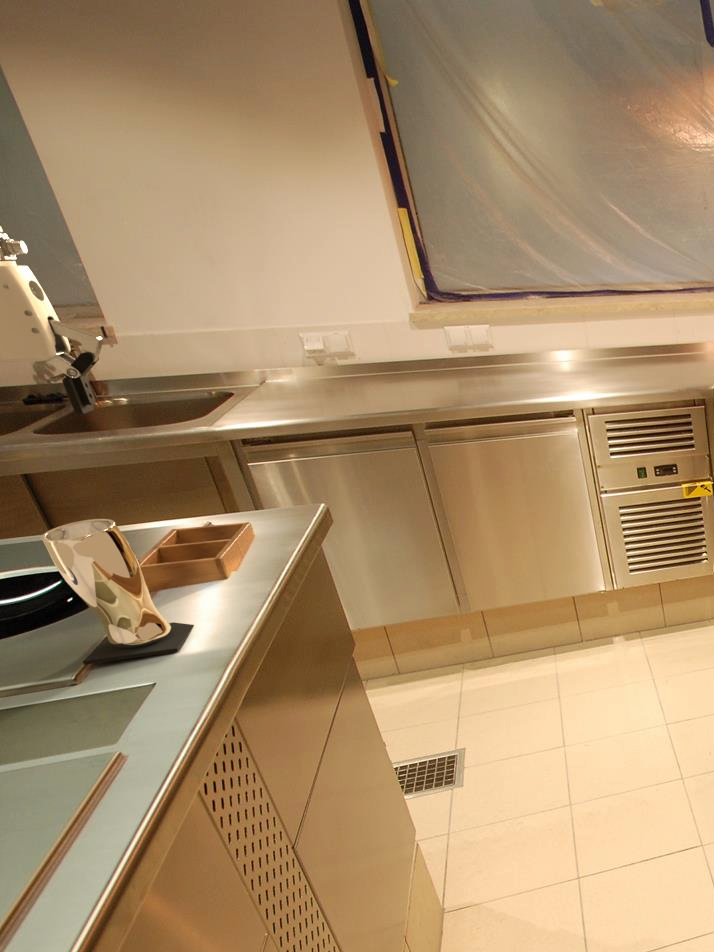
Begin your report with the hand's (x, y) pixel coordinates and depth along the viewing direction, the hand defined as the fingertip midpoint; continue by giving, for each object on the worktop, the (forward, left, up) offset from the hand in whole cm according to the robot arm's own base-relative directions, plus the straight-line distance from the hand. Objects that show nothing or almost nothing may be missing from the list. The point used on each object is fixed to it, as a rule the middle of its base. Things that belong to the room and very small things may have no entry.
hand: (30, 413), depth 97 cm
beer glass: (+2, -2, -28) cm, 28 cm away
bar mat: (+2, -2, -29) cm, 29 cm away
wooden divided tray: (+3, +25, -29) cm, 38 cm away
